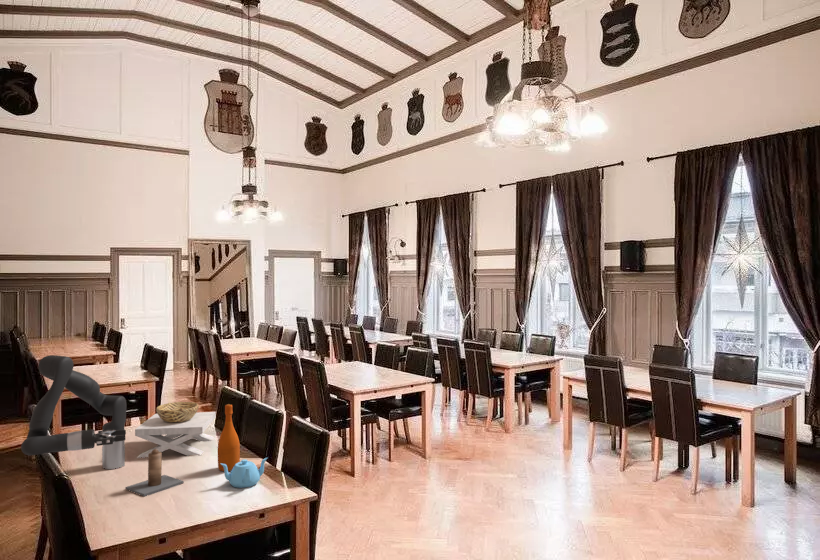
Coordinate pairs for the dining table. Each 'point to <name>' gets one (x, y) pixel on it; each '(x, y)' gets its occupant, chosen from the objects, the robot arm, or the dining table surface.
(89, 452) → the dining table surface
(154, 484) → the pepper mill
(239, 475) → the teapot
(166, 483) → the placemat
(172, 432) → the white x-leg bench
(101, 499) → the dining table surface
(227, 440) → the wine bottle
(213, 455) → the dining table surface
